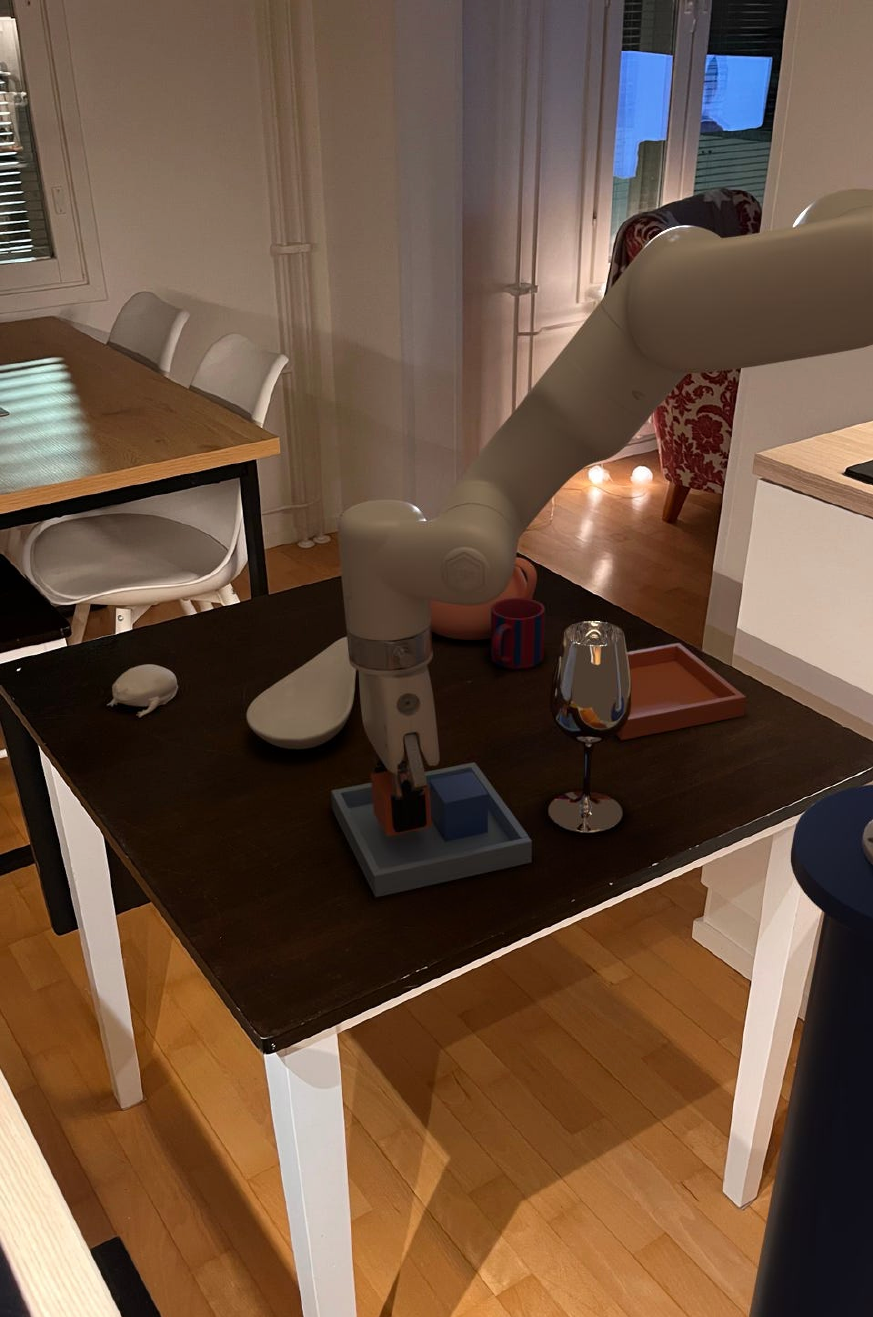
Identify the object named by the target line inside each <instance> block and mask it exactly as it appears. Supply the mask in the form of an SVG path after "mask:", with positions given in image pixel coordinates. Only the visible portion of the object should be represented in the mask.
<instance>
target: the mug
mask: <svg viewBox="0 0 873 1317" xmlns="http://www.w3.org/2000/svg"><path fill="white" fill-rule="evenodd" d="M545 613H546V608H545V606H544V605H543V604H542V603H541V602H539V601H537V600H534V599H532V600H531V599H526V598H510V599H504V600H501V601H498V602H496V603H495V604H493V605H492V607H491V638H490V659H491V661H492V662H493V663H494V664H495V665H497V666H499V667H501V668H506V669H512V670H523V669H530V668H533V667H536V666H538V665H539V664H540V663H542V662H543V660H544V656H545V655H544V654H545V621H546V620H545V618H546V615H545Z"/></svg>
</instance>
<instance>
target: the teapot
mask: <svg viewBox="0 0 873 1317" xmlns="http://www.w3.org/2000/svg"><path fill="white" fill-rule="evenodd" d="M523 572H524V573H525V575H526V578H527V580H526V578H525V575H524V573H523ZM537 580H538V573H537V569H536V568H535V566H534V565H533V564H532V563H531V562H530V561H528V560H527V559H525V558H522V557H516V560H515V565H514V570H513V574H512V578H511V580H510V582H509V584H508V586H507V588H506V589H505V590H504V592H503V593H502V594H501V595H499V596H498V597H497V598H496V599H494V600H492V601H490V602H488V603H485V604H481V605H474V606H463V605H455V604H449V603H444V602H440V601H435V600H430V614H431V632H433V633H435V634H437V635H439V636H442V637H445V638H449V639H454V640H462V641H463V640H465V641H477V640H478V641H480V640H487V639H491V607H492V605H493V604H495V603H496V602H498V601H501V600H504V599H510V598H526V599H531V600H533V597H534V593H535V589H536V588H537V582H538V581H537Z"/></svg>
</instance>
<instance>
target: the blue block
mask: <svg viewBox="0 0 873 1317" xmlns="http://www.w3.org/2000/svg"><path fill="white" fill-rule="evenodd" d="M429 783H430V812H431V819H432V821H433V823H434V824H435V826H436V827H437V829H438V831H439V832H440V834H441V836H442V837H443V839H444V840H445V841H450V840H455V839H459V838H464V837H468V836H473V835H478V834H482V833H487V832H488V794H487V792H486V791H485V790H484V788H483V787H482V785H481V784H480V782H479V781H478V780H477V778H476V777H475V775H474V774H473V773H472V772H468V773H463V774H458V775H453V776H448V777H443V778H438V779H433V780H429Z"/></svg>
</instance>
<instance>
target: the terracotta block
mask: <svg viewBox="0 0 873 1317" xmlns="http://www.w3.org/2000/svg"><path fill="white" fill-rule="evenodd" d="M400 779H401V784H402V782H403V781H404V780H408V779H409V773H408V772H406V773H401V774H400ZM370 783H371V786H372V797H373V809H374V814H375V816H376V818H377V820H378V821H379V823H380V825H381V827H382V829H383V831H384V832H385V834H386V836H387V837H388V836H393V835H397V834H402V833H406V832H410V831H415V830H419V829H424V828H428V827H431V812H430V794H429V787H428V785H427V788H425V800H426V818H427V824H426V826H424V827H421V828H417V829H412V830H408V831H403V832H399V833H397V832H395V830H394V828H393V819H392V805H391V795H394V789H393V781H392V774H391V772H390V771H385V772H380V773H375V772H374V773H372V774H370Z"/></svg>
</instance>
